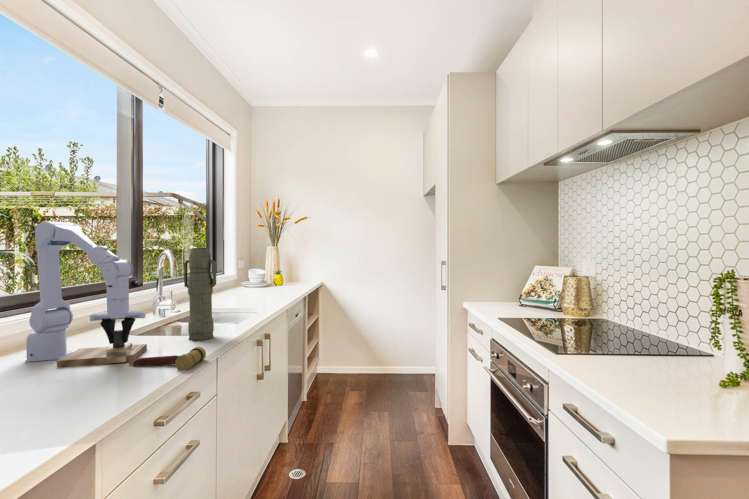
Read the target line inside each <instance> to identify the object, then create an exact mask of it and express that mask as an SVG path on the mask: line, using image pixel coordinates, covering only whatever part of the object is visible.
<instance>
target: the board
mask: <svg viewBox="0 0 749 499" xmlns="http://www.w3.org/2000/svg"><path fill="white" fill-rule="evenodd" d="M110 347H111V346H102V347H101V346H99V347H88V348H87V347H86V348H84V347H83V348H78V349H76V350H74V351H72V353H70V354H69V355H67V356H65V357H63V358H61V359H57V360H56V368H57V367H58V368H68V367H71V368H72V367H81V366H93V365H104V364H105V365H106V364H109V363H107V358H106V350H107V349H108V348H110ZM147 350H148V345H147V343H143V344H142V343H141V344H132V347H131V352H130V353H129V354H127V355H126V359H127V361H126V362H125V363H129V362H131V361H132V362H133V361H134V360H137V359H139V358H140V356H141V355H143V354H144V353H145V352H146V351H147ZM119 363H121V362H118V363H117V364H119Z"/></svg>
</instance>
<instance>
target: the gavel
mask: <svg viewBox="0 0 749 499" xmlns="http://www.w3.org/2000/svg"><path fill="white" fill-rule="evenodd" d="M206 355H207V353H206V350H205V349H204V348H203V347H202V346H196V347H193V349H191V350H190V351H189V352H187V353H183V354H182V355H164V356H151V357H150V356H149V357H138V358H137V359H136V360H134V361H133V362H132V361H131V362H128V363H129V365H130V366H136V367H152V366H154V367H155V366H168V365H170V366H171V365H175V368H176V369H177V370H178V371H188V370H190V369H191V368H192V367H193V366H194V365H196V364H197V363H199V362H200V363H201V362H202V361H203V360H205V358H206Z"/></svg>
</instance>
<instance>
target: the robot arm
mask: <svg viewBox="0 0 749 499" xmlns="http://www.w3.org/2000/svg"><path fill="white" fill-rule="evenodd" d="M34 235H35V236H34V237H35V246H36V255H37V256H36V257H37V269H38V271H37V272H38V283H39V284H38V286H39V300H40V301H39V302H38V303H36V304H35V305H34V306H32V307H31V309H30V311H31V312H30V317H29V321H28V322H29V326H30V328H31V329H32V330H33V331H31V332H29V333H28V335H27V337H26V342H25V344H26V346H25V348H26V349H25V350H26V360H24V361H25V362H26V363H28V362H41V361H42V362H43V361H55V360H56V361H58V360H59V359H61V358H63V357H65V356H67V355H69V354H70V353H72V352H73V351H67V350H68V349H67V346H68V345H67V329H68V328H69V325H71V323H72V322H73V319H74V317H73V312H72V310H71V308H70V307H71V306H70V305H71V304H70V303H69V302H67V300H64V299H63V296H62V281H61V266H60V251H61V250H62V249H63V248H65V247H67V246H69V245H70V244H72V245H74V246H75V247H77V248H79V249H80V250H81V251H83V252H84V253H85V254H86V256H87V260H89V262H91V263H92V264H93V265H94V266H96V267H97V268H98V269H100V273H101V276H102V277H103V278H104V280H103V281H104V284H105V285H106V312H101V313H91V314H90V315H89V321H90V322H95V321H100V323H99V324H100V326H101V327H102V329H103V330H104V332H105V334H106V337H107V339H108V342H109V345H111V344H112V345H113V331H115V327H116V320H121V321H120V323H121V328H122V329H121V330H123V343H125V344H127V343H128V341H129V337H130V336H129V335H130V333H131V331H132V330H131V329H132V327H133V325H134V324H135V321H136V319H145V318H146V311H145V310H143V311H132V310H131V311H130V293H129V292H130V290H129V289H130V284H129V277H131V276H132V275H133V273H134V267H133V264H132V262H130V260H129V259H122V258H120V257H119V256H118V255H116V254H114V252H112V251H111V250H109V247H108V246H106V245H97V244H96V243H95V242H93V240H92V239H90V237H88V236H87V235H86V234H85V233H84V232H83V229H82V227H81V226H79V225H78V224H77V223H76V222H62V221H61V222H59V221H58V222H57V221H49V220H45V221H41V222H40V223H39V224H38V225H37V226H36V227H35V228H34Z"/></svg>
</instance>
